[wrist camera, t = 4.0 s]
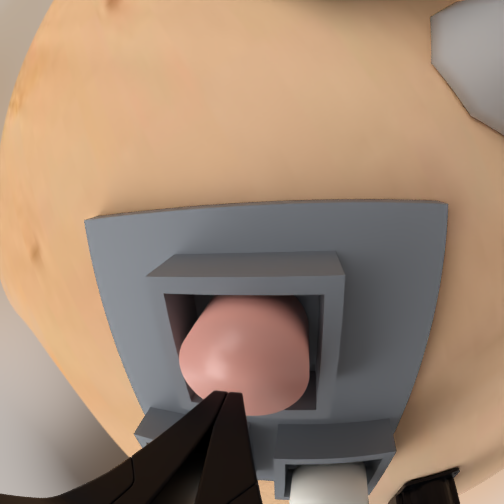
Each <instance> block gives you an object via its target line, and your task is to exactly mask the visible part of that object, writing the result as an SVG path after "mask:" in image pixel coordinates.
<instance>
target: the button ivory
mask: <svg viewBox="0 0 504 504" xmlns="http://www.w3.org/2000/svg"><path fill="white" fill-rule="evenodd" d="M289 504H369V501H368V488H367V477H366V467H365V464H364V463H363V462H362V461H359V462H349V463H335V464H301V465H300V466H298V467H297V468H296V469H295V470H294V471H293V474H292V483H291V492H290V501H289Z"/></svg>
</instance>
